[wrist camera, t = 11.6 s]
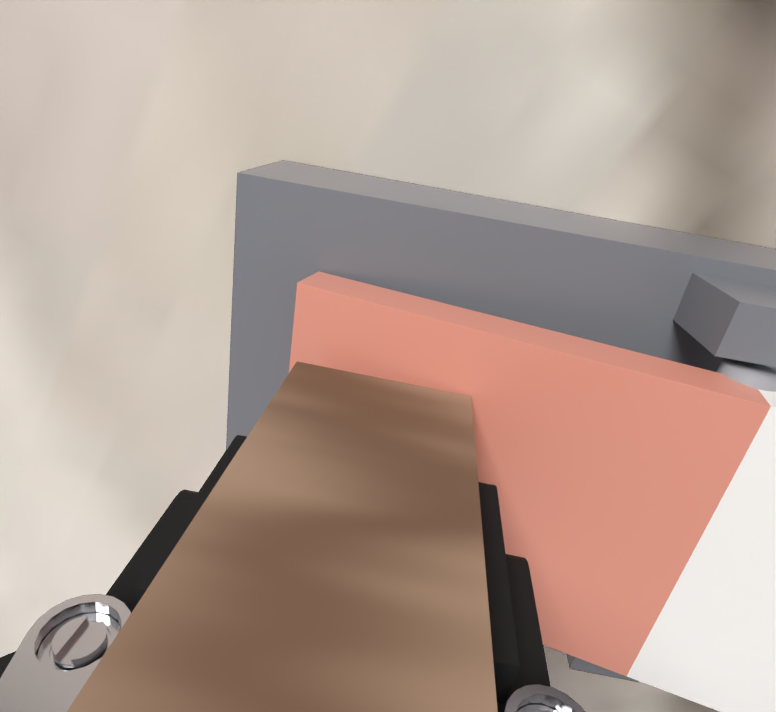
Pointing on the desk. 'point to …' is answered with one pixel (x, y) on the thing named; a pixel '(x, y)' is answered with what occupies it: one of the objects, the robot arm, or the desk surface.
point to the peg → (322, 567)
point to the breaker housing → (484, 275)
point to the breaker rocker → (599, 480)
